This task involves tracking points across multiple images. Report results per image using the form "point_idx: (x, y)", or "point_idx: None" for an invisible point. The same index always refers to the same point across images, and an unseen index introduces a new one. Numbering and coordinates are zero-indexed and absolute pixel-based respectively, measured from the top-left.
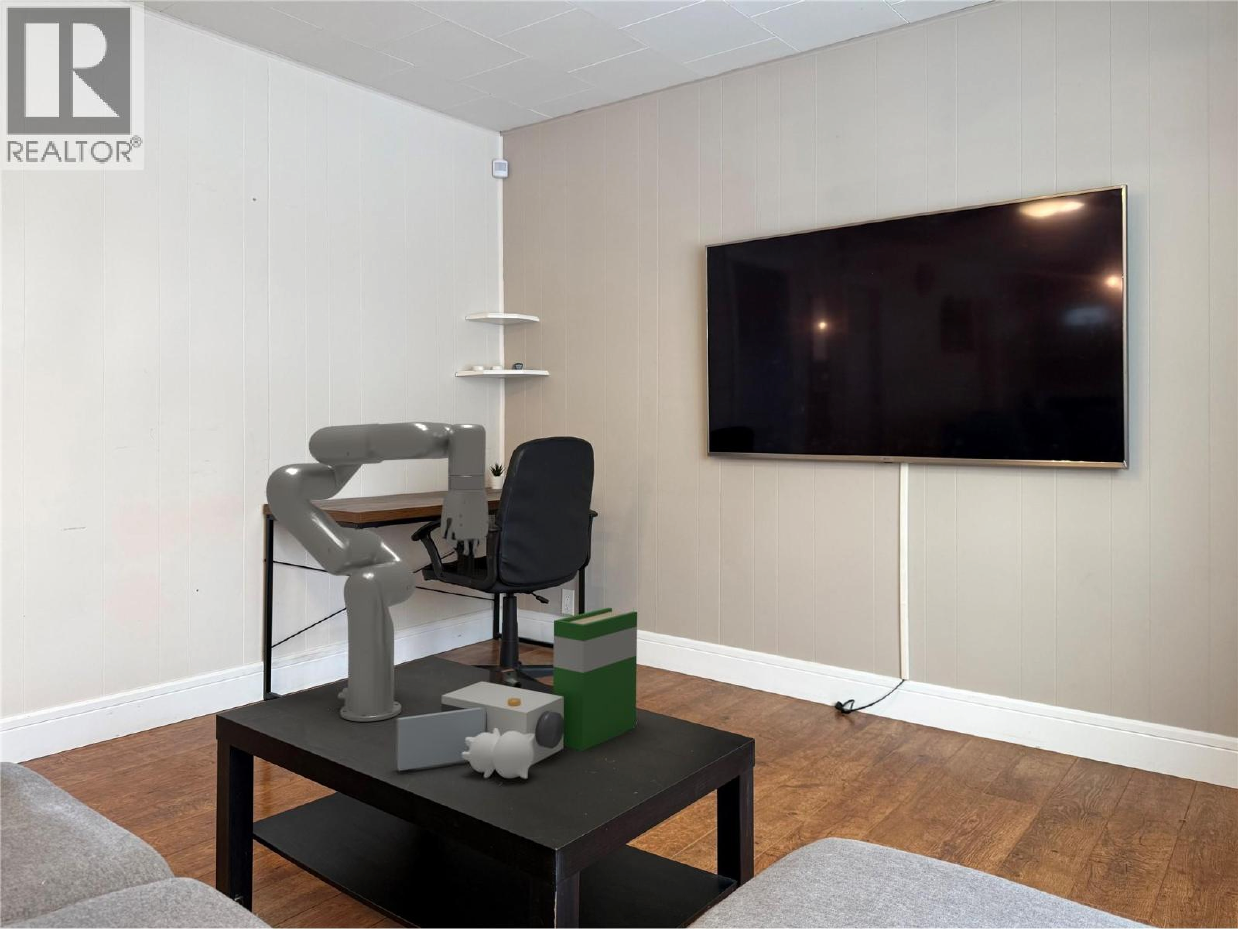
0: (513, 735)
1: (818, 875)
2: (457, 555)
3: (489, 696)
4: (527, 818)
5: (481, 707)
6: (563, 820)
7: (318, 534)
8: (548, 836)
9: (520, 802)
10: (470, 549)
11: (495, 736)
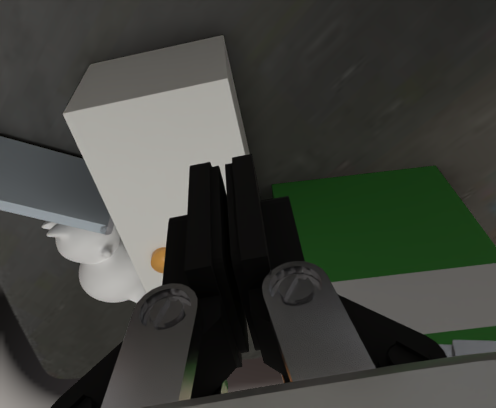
0: (106, 299)
1: None
2: (185, 262)
3: (157, 192)
4: (62, 332)
5: (103, 226)
6: (95, 352)
7: None
8: (58, 365)
9: (80, 302)
10: (284, 372)
11: (100, 256)
